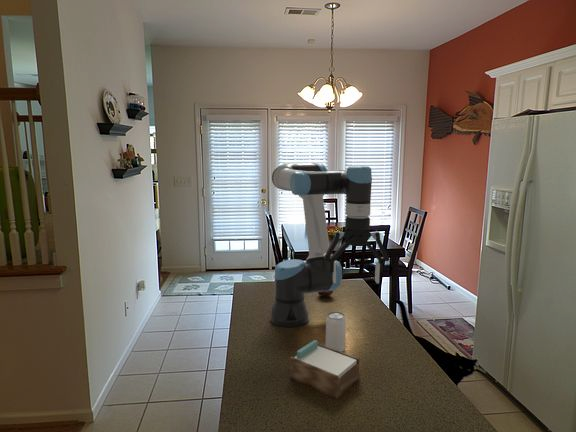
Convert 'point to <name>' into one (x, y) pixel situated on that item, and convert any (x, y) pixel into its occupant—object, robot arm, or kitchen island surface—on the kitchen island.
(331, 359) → the lid
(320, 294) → the apple
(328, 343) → the can
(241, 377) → the kitchen island surface
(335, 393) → the box
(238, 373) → the kitchen island surface
